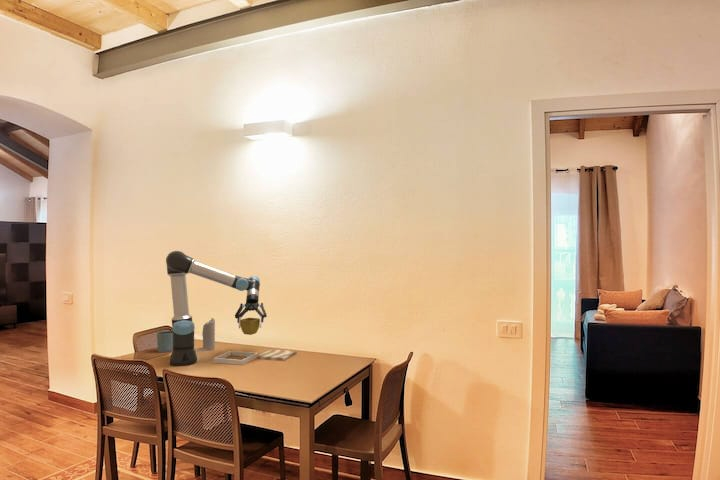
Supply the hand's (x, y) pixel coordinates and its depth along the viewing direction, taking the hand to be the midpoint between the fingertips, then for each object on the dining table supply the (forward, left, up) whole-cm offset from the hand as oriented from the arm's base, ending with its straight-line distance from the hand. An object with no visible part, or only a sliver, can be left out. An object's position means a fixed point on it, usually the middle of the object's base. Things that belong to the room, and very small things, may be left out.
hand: (249, 326), depth 264 cm
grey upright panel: (-42, +15, -20) cm, 48 cm away
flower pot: (-1, +2, -5) cm, 6 cm away
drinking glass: (-64, +6, -20) cm, 67 cm away
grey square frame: (-8, -2, -19) cm, 21 cm away
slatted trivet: (+12, +12, -19) cm, 26 cm away
